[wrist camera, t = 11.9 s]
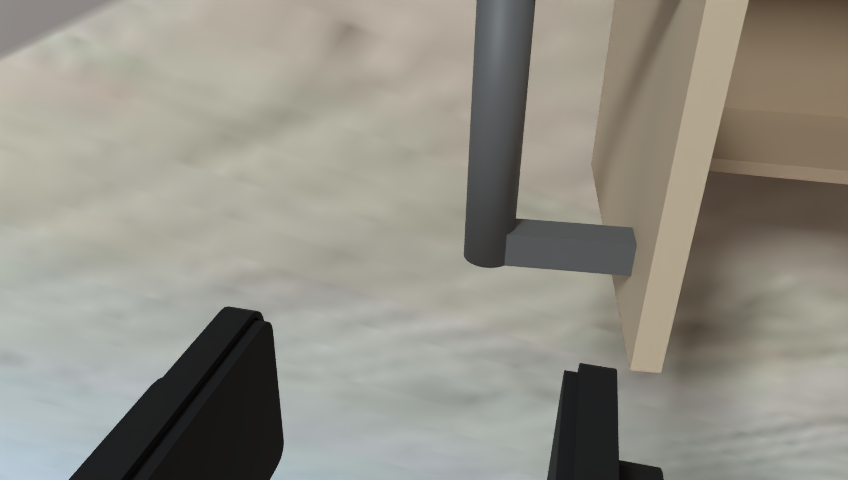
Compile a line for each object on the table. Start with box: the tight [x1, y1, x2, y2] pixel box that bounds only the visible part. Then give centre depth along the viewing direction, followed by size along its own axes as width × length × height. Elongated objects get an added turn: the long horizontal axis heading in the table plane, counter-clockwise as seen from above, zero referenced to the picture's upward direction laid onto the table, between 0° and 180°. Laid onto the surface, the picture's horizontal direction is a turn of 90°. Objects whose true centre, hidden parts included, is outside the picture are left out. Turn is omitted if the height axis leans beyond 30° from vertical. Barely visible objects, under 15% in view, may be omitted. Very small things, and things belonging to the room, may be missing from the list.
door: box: [464, 0, 749, 373], centre depth 22 cm, size 14×12×6 cm
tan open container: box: [709, 0, 848, 184], centre depth 30 cm, size 14×12×8 cm
